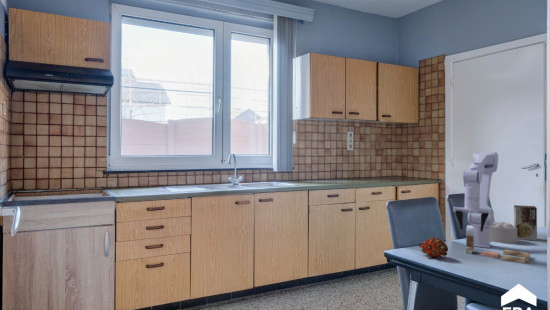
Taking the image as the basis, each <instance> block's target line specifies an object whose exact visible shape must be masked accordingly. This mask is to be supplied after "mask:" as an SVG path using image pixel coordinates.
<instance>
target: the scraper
mask: <svg viewBox="0 0 550 310" xmlns="http://www.w3.org/2000/svg"><path fill="white" fill-rule="evenodd" d="M465 245H466V247H465V248H466V249H465V251H466V252H465V253H466V254H467V253H468V255H472V254H473V253H474V247H475V246H474V236H471V235H467V236H465ZM472 252H473V253H472Z"/></svg>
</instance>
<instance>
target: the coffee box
mask: <svg viewBox="0 0 550 310" xmlns="http://www.w3.org/2000/svg"><path fill="white" fill-rule="evenodd" d="M537 210H538V208H537V207H536V206H535V205H518V204H515V205H513V226H515V227H517V240H523V241H538V231H537V230H538V216H537V215H538V214H537V213H538V211H537Z"/></svg>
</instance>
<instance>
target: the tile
mask: <svg viewBox="0 0 550 310" xmlns="http://www.w3.org/2000/svg"><path fill="white" fill-rule="evenodd" d="M499 255H500V253H499V252H494V251H489V250H488V251H486V250H482V251H481V253H480V256H482V257H490V258H498V257H499Z"/></svg>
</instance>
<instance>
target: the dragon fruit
mask: <svg viewBox="0 0 550 310" xmlns="http://www.w3.org/2000/svg"><path fill="white" fill-rule="evenodd" d="M418 247H419V249H421V253H423V254H425V255H428V256H429V258H430V257H431V258H434V257H435V258H436V259H441V257H442V256H443V257H446V256H447V255H448V251H449V248H448V245H447V243H446V242H445V241H443V240H442V239H441V238H439V237H437V238H435V237H429V239H427V240H425V241H423V242H421V243H419V245H418Z"/></svg>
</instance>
